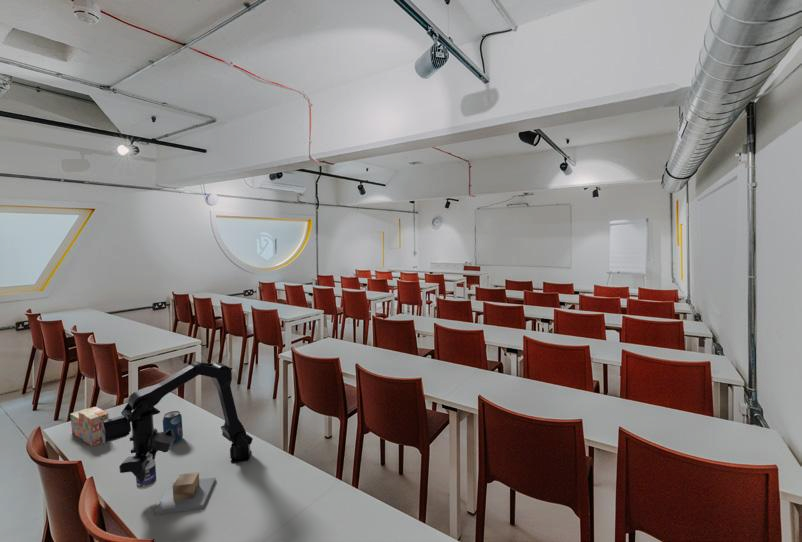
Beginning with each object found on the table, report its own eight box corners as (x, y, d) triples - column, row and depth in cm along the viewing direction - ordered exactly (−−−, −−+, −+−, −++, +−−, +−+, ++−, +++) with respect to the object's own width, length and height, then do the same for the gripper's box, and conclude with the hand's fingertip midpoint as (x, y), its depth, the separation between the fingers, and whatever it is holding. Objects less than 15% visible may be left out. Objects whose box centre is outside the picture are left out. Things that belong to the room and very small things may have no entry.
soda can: (183, 442, 157) (182, 415, 156) (164, 447, 154) (162, 419, 152) (182, 435, 163) (180, 408, 162) (163, 439, 159) (162, 413, 158)
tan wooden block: (199, 486, 127) (198, 472, 127) (193, 497, 122) (192, 483, 121) (180, 488, 126) (179, 474, 126) (173, 500, 120) (172, 486, 120)
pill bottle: (141, 492, 118) (139, 463, 117) (133, 486, 121) (131, 458, 120) (159, 482, 123) (157, 454, 122) (151, 477, 126) (149, 449, 125)
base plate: (215, 480, 132) (215, 477, 132) (203, 508, 119) (202, 504, 118) (172, 485, 129) (172, 482, 129) (154, 515, 116) (154, 511, 116)
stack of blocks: (71, 433, 165) (69, 407, 164) (88, 427, 170) (86, 401, 169) (92, 447, 154) (90, 418, 153) (110, 439, 160) (108, 412, 159)
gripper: (158, 442, 113) (161, 490, 114) (181, 414, 131) (183, 456, 132) (116, 447, 111) (120, 496, 112) (145, 417, 129) (148, 460, 130)
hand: (146, 475), depth 122 cm, fingers closed on pill bottle, 5 cm apart
